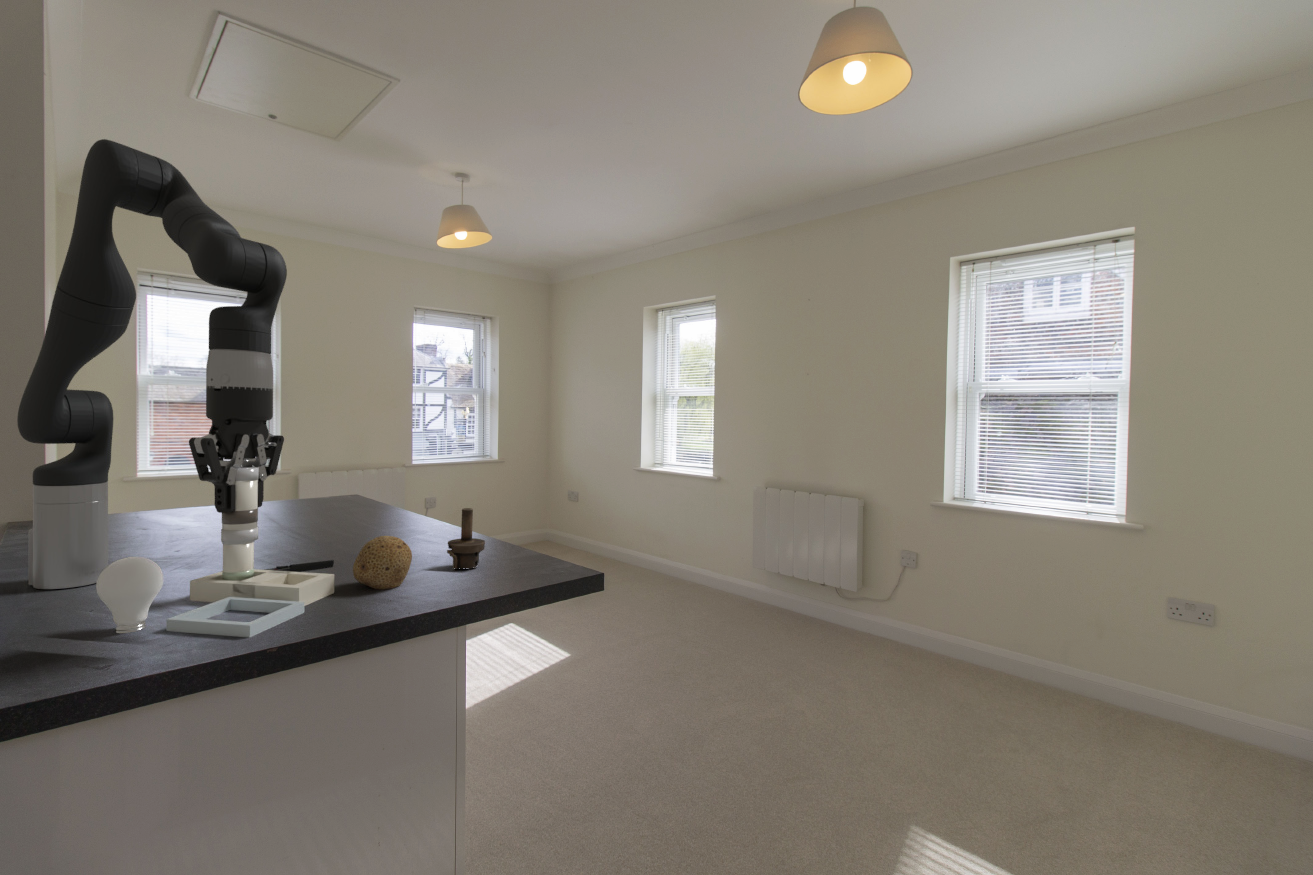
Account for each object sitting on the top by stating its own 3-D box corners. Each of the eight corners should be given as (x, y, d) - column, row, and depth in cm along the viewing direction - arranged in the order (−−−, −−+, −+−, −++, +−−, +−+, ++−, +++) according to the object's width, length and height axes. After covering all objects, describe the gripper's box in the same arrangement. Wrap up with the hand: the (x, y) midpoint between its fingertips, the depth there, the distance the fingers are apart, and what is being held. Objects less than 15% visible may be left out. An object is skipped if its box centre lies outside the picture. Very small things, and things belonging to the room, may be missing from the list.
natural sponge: (352, 604, 95) (353, 542, 95) (352, 589, 103) (353, 532, 103) (413, 598, 99) (414, 539, 99) (408, 584, 107) (409, 529, 107)
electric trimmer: (336, 577, 111) (336, 561, 111) (235, 590, 101) (236, 572, 101) (330, 573, 114) (331, 557, 114) (232, 585, 104) (232, 567, 104)
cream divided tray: (189, 609, 90) (189, 580, 90) (233, 594, 98) (233, 567, 98) (298, 617, 88) (299, 588, 88) (334, 601, 96) (334, 574, 96)
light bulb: (124, 630, 81) (124, 551, 81) (175, 630, 82) (175, 551, 81) (81, 649, 75) (81, 563, 74) (137, 649, 75) (137, 563, 75)
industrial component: (449, 573, 115) (450, 512, 115) (442, 565, 121) (443, 507, 121) (497, 569, 120) (498, 510, 119) (488, 561, 126) (490, 504, 126)
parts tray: (166, 641, 78) (166, 619, 78) (229, 616, 88) (229, 596, 88) (249, 648, 77) (250, 625, 77) (304, 622, 87) (304, 601, 86)
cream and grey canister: (213, 542, 80) (213, 468, 80) (238, 536, 84) (238, 465, 84) (241, 543, 80) (242, 469, 79) (265, 537, 84) (266, 467, 83)
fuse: (214, 597, 92) (215, 533, 92) (236, 589, 96) (237, 528, 96) (239, 599, 91) (240, 534, 91) (260, 591, 96) (261, 529, 95)
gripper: (256, 387, 89) (255, 501, 89) (167, 381, 75) (167, 516, 75) (302, 388, 88) (301, 503, 88) (221, 382, 74) (220, 519, 74)
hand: (239, 509), depth 82 cm, fingers closed on cream and grey canister, 4 cm apart
